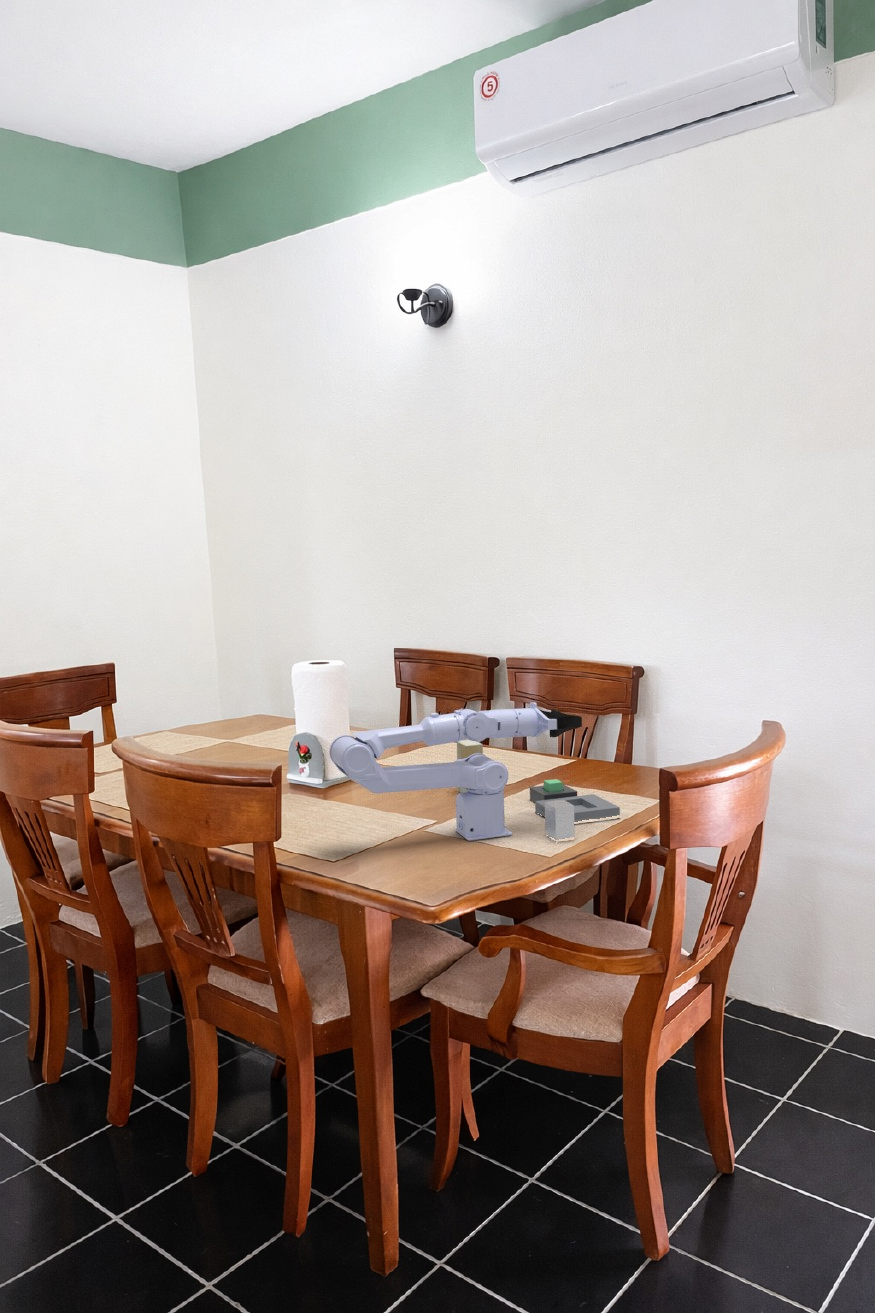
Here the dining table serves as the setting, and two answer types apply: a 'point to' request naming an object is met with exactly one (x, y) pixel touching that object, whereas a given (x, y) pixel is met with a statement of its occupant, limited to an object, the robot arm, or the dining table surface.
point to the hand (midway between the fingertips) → (571, 720)
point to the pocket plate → (584, 807)
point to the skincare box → (467, 753)
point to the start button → (553, 785)
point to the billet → (559, 819)
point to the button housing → (550, 793)
